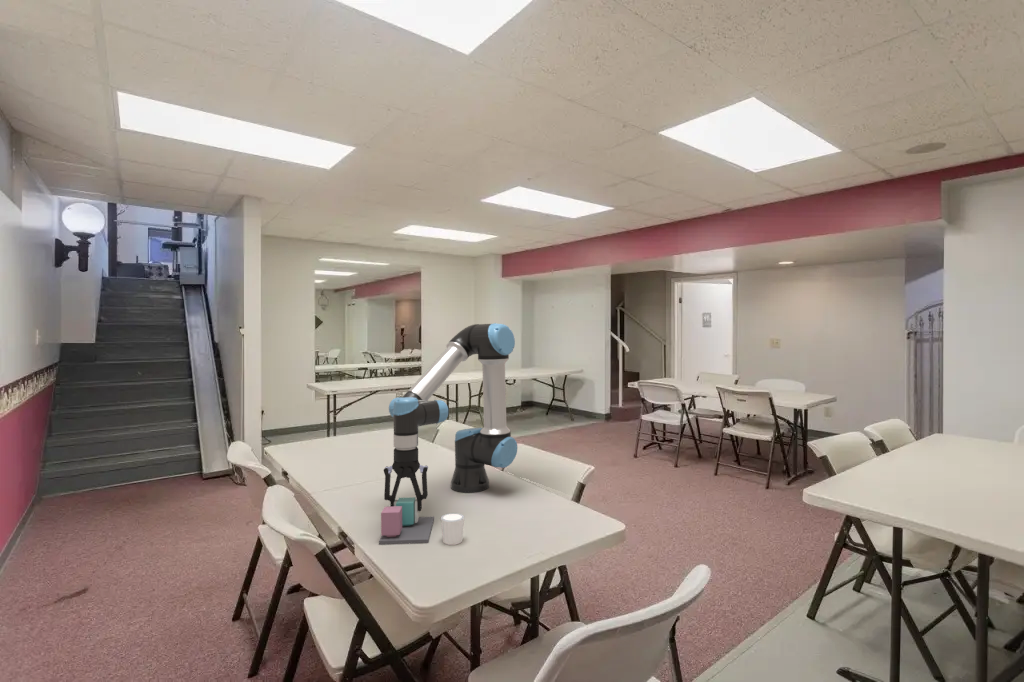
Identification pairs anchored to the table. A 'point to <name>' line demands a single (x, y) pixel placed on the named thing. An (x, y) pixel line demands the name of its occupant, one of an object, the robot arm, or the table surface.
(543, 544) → the table surface
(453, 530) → the white cup
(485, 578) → the table surface
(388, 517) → the stand
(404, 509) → the teal rectangular prism
